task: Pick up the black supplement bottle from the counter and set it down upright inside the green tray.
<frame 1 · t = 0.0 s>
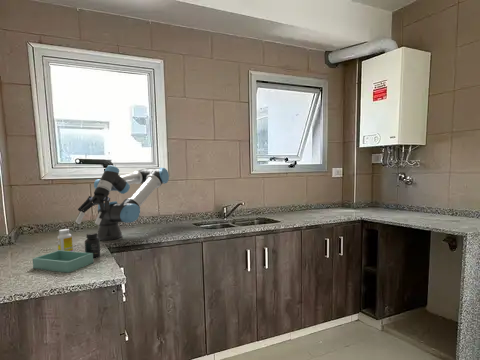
hand: (87, 223, 160), 15 cm above the worktop, tool tilted 35°, fingers open, 13 cm apart
supplement bottle 2: (65, 254, 158), on the worktop
supplement bottle: (93, 257, 150), on the worktop
green tray: (63, 265, 138), on the worktop
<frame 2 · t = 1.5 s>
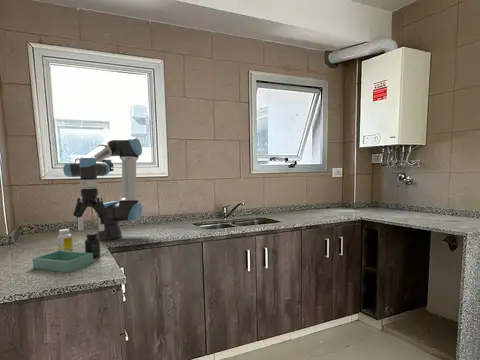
hand: (91, 230, 149), 14 cm above the worktop, tool pointing down, fingers open, 13 cm apart
nothing on the worktop moved.
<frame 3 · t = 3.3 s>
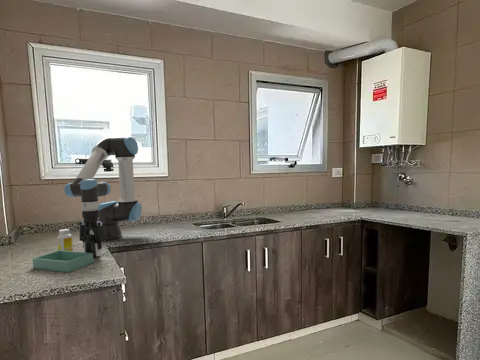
hand: (92, 255, 150), 1 cm above the worktop, tool pointing down, fingers closed on supplement bottle, 7 cm apart
supplement bottle: (93, 257, 150), on the worktop, touching gripper
everything else where it was.
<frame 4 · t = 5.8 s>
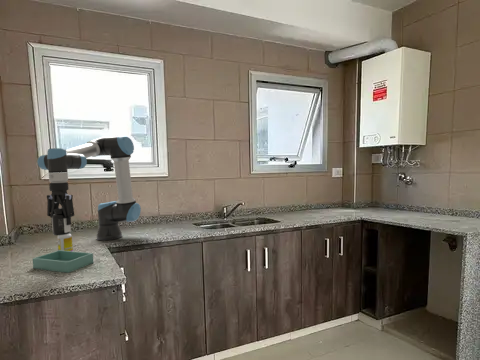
hand: (61, 231, 138), 16 cm above the worktop, tool pointing down, fingers closed on supplement bottle, 7 cm apart
supplement bottle: (61, 234, 138), point 15 cm above the worktop, touching gripper
everything else where it was.
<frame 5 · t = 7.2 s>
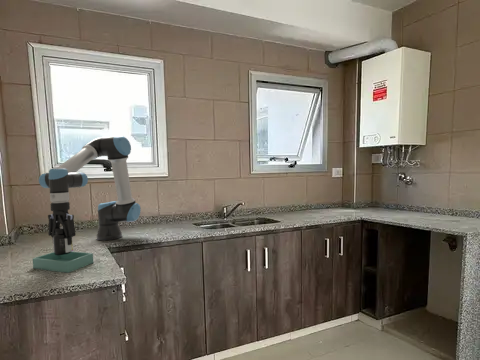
hand: (62, 251, 138), 7 cm above the worktop, tool pointing down, fingers closed on supplement bottle, 7 cm apart
supplement bottle: (62, 253, 138), point 6 cm above the worktop, touching gripper
everything else where it was.
when the fingers open (3 cm above the worktop, at t = 8.3 s): supplement bottle drops 1 cm, resting on green tray.
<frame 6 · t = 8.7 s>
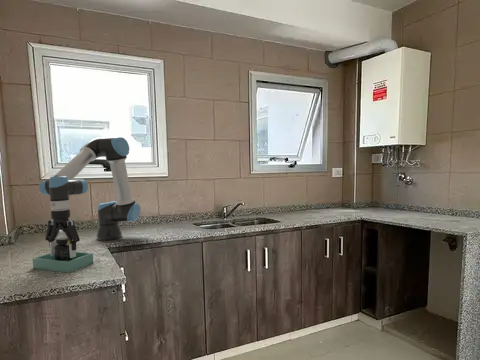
hand: (63, 256, 138), 4 cm above the worktop, tool pointing down, fingers open, 11 cm apart
supplement bottle: (63, 264, 138), resting on green tray
everything else where it was.
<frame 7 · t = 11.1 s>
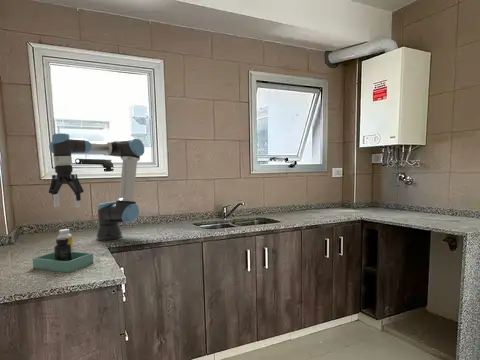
hand: (67, 207, 150), 26 cm above the worktop, tool pointing down, fingers open, 13 cm apart
nothing on the worktop moved.
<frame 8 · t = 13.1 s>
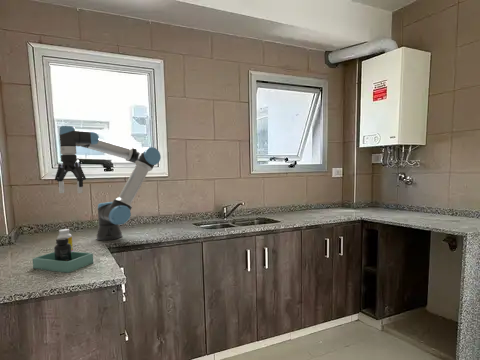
hand: (70, 193, 164), 32 cm above the worktop, tool pointing down, fingers open, 13 cm apart
nothing on the worktop moved.
at the end: supplement bottle inside the target area on the green tray (0.1 cm from its centre), point 0.4 cm above the green tray's base; supplement bottle tilted 0°; the gripper is holding nothing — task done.
